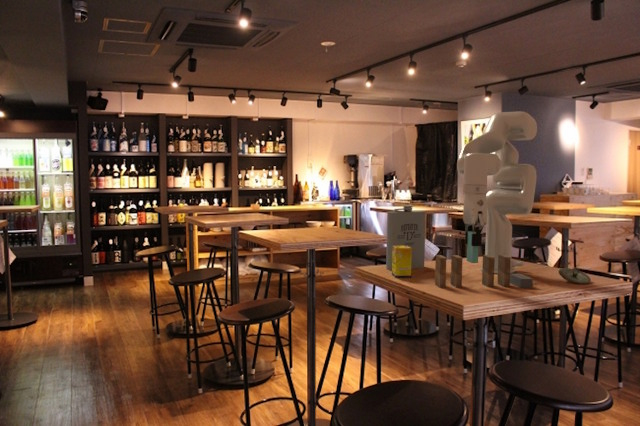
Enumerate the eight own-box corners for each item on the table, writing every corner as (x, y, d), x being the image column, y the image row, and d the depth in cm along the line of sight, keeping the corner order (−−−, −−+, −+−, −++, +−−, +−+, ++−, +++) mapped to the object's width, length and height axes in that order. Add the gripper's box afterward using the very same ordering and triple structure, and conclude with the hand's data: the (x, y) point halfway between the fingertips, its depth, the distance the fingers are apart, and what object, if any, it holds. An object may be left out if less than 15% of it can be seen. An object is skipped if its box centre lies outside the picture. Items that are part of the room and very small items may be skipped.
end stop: (519, 282, 184) (520, 273, 184) (532, 287, 175) (532, 278, 175) (508, 282, 184) (509, 273, 183) (521, 287, 175) (521, 278, 174)
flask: (391, 270, 203) (392, 206, 201) (384, 268, 207) (385, 205, 205) (427, 267, 211) (428, 205, 209) (420, 265, 215) (421, 204, 213)
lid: (575, 278, 192) (575, 264, 191) (597, 283, 182) (598, 269, 182) (551, 279, 188) (552, 266, 188) (573, 285, 179) (574, 271, 179)
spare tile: (472, 260, 179) (473, 231, 179) (478, 263, 174) (479, 233, 174) (466, 260, 179) (467, 231, 178) (472, 263, 174) (473, 233, 173)
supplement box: (391, 274, 195) (392, 245, 194) (407, 274, 196) (407, 245, 195) (395, 278, 189) (395, 247, 189) (411, 277, 190) (412, 247, 189)
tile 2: (456, 284, 180) (457, 255, 179) (461, 287, 175) (462, 257, 174) (450, 284, 180) (451, 255, 179) (455, 287, 175) (456, 257, 174)
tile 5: (503, 283, 181) (504, 254, 180) (509, 286, 176) (510, 257, 175) (497, 283, 181) (498, 254, 180) (503, 286, 176) (504, 257, 175)
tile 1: (440, 284, 179) (441, 255, 178) (445, 287, 174) (446, 257, 173) (434, 284, 179) (435, 255, 178) (439, 287, 174) (440, 257, 173)
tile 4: (487, 283, 181) (488, 254, 180) (493, 287, 176) (494, 257, 175) (481, 283, 181) (482, 254, 180) (487, 287, 176) (488, 257, 175)
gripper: (496, 191, 167) (494, 248, 168) (475, 189, 184) (474, 241, 185) (473, 191, 166) (471, 248, 167) (455, 189, 183) (453, 241, 184)
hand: (473, 244), depth 176 cm, fingers closed on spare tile, 4 cm apart
